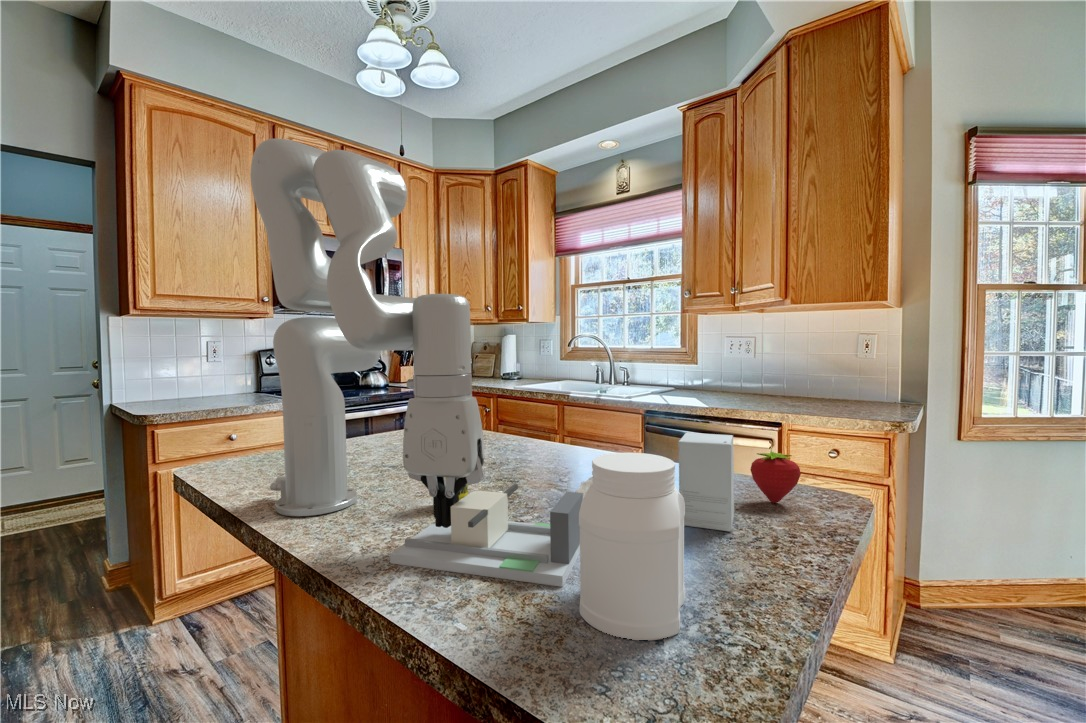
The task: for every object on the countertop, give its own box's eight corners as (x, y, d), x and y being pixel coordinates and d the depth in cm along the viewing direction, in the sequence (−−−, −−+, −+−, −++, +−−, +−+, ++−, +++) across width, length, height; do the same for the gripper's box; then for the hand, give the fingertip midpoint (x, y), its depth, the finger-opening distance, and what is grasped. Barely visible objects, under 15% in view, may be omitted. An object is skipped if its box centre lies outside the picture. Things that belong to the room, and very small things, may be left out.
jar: (676, 650, 43) (676, 481, 42) (571, 629, 46) (570, 472, 46) (686, 588, 54) (686, 452, 53) (601, 574, 57) (600, 446, 56)
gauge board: (390, 563, 60) (388, 505, 60) (444, 522, 74) (443, 475, 74) (562, 586, 54) (561, 522, 54) (587, 537, 67) (587, 486, 67)
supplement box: (735, 515, 75) (735, 434, 75) (731, 533, 68) (731, 444, 68) (685, 509, 78) (685, 431, 78) (677, 525, 72) (677, 440, 71)
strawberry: (803, 511, 77) (803, 448, 76) (751, 506, 79) (751, 445, 79) (797, 499, 82) (798, 440, 82) (749, 495, 85) (749, 438, 84)
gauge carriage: (434, 560, 58) (434, 518, 58) (486, 515, 73) (486, 481, 72) (473, 565, 56) (472, 522, 56) (518, 518, 71) (517, 484, 71)
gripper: (377, 390, 64) (382, 528, 64) (483, 391, 59) (486, 540, 60) (409, 384, 71) (413, 509, 71) (506, 386, 66) (508, 519, 67)
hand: (446, 523), depth 66 cm, fingers closed
